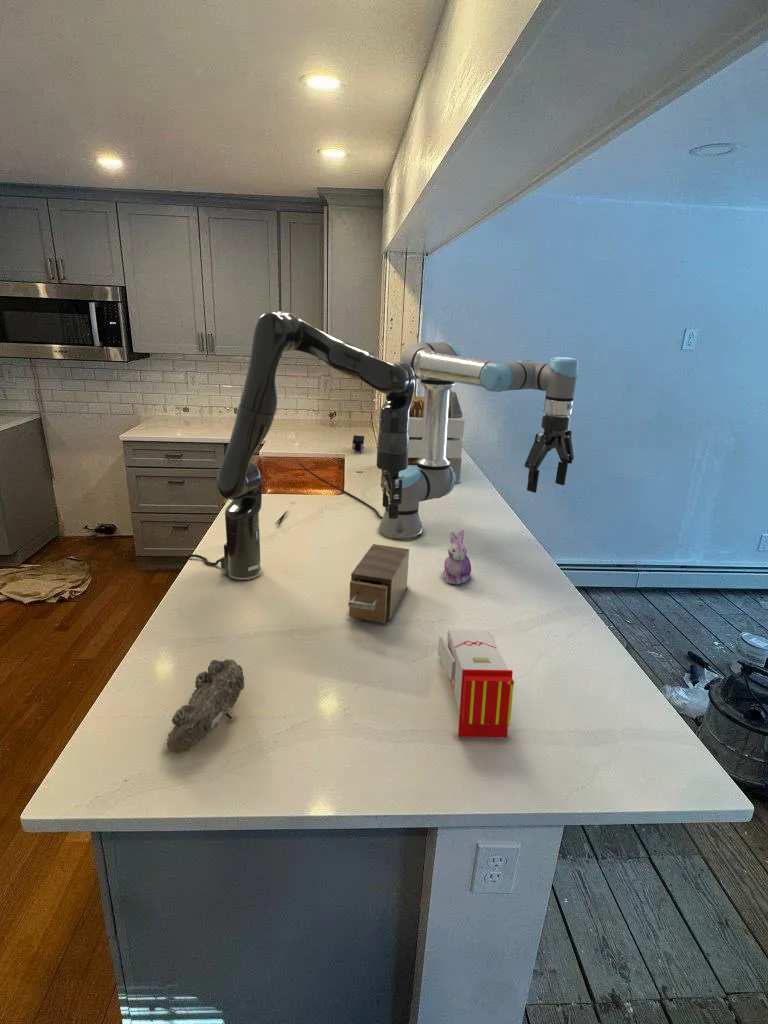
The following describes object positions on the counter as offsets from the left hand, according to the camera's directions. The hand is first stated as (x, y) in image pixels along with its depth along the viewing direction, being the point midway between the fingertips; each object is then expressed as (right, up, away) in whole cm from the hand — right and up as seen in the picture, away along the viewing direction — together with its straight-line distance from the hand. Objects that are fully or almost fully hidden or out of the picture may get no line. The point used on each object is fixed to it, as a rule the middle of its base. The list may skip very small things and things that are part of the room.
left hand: (389, 512), depth 141 cm
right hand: (+46, +7, +24) cm, 52 cm away
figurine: (+20, -20, +27) cm, 39 cm away
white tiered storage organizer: (+16, +19, +134) cm, 136 cm away
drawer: (-4, -25, +7) cm, 26 cm away
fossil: (-34, -39, -33) cm, 61 cm away
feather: (-39, -1, +72) cm, 82 cm away
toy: (+16, -38, -22) cm, 47 cm away
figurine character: (-16, +33, +170) cm, 174 cm away
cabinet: (-3, -24, +13) cm, 27 cm away
